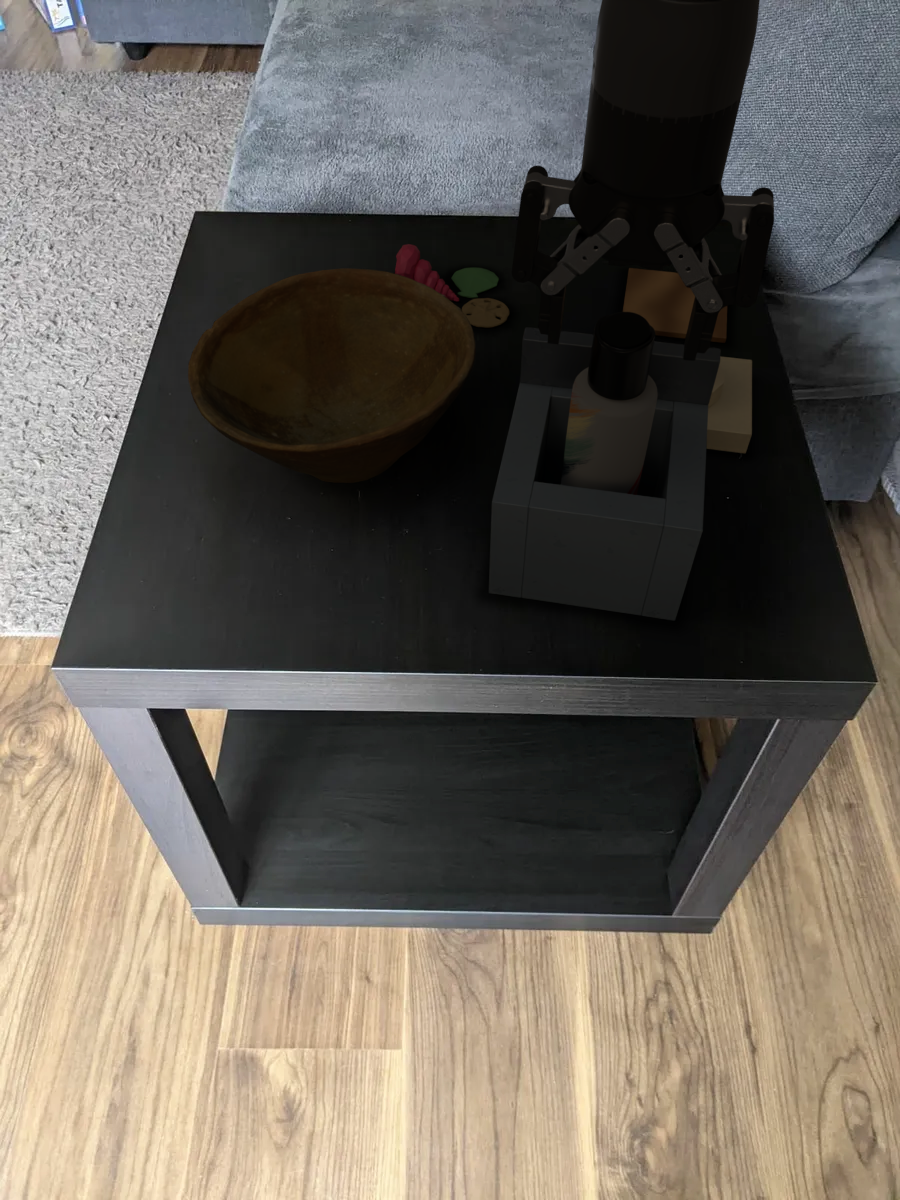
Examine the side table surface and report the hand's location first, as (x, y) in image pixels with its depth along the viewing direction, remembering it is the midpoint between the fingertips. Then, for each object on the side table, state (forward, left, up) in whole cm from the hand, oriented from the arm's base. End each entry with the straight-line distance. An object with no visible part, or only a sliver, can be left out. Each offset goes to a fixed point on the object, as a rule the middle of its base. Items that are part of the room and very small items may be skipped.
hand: (621, 344), depth 59 cm
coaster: (-5, -32, -19) cm, 37 cm away
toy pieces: (+17, -29, -19) cm, 39 cm away
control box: (-6, -17, -19) cm, 26 cm away
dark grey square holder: (0, 0, -19) cm, 19 cm away
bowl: (+22, -7, -19) cm, 30 cm away
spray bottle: (0, 0, -19) cm, 19 cm away
